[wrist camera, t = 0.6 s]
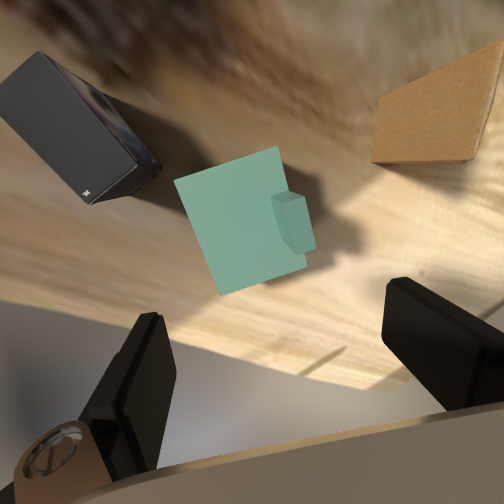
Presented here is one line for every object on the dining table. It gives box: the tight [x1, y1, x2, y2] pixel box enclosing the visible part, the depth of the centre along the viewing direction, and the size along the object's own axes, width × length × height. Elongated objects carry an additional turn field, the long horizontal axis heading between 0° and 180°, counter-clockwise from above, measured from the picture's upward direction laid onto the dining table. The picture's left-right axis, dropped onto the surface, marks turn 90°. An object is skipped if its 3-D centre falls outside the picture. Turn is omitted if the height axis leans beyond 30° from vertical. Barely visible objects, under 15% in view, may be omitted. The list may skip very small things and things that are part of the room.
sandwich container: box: [371, 40, 504, 164], centre depth 27 cm, size 9×15×15 cm, turn 90°
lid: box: [173, 146, 317, 296], centre depth 25 cm, size 11×14×8 cm
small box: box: [0, 51, 162, 205], centre depth 25 cm, size 11×6×10 cm, turn 36°
